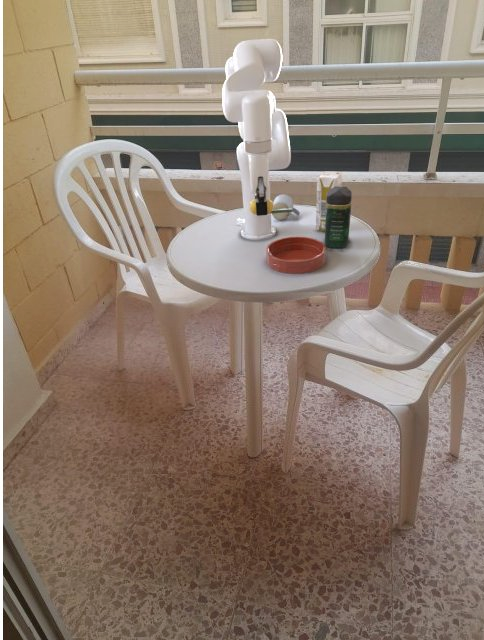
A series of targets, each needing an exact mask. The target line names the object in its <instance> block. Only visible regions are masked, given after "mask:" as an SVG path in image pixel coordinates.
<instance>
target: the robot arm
mask: <svg viewBox="0 0 484 640" xmlns="http://www.w3.org/2000/svg"><path fill="white" fill-rule="evenodd" d="M282 63H283V52H282V47H281V45H280V43H279V42H278V41H277V39H274V38H263V39H262V38H259V39H258V38H257V39H248V40H243V41H240V42H239V43H238V44H237V45H236V47H234V51H233V55H232V56H230V57H229V58H228V59H227V60H226V63H225V76H226V80H225V81H224V83H223V86H222V92H221V93H222V94H221V95H222V96H221V97H222V109H223V110H222V111H223V114H224V117H225V119H226V120H227V121H228V122H230V123H238V131H239V135H240V138H241V139H242V141H243V142H241V143H239V145H238V146H237V147H236V159H237V164H238V169H239V174H240V182H241V193H242V207H243V218H237V219H236V223H235V226H236V227H241V230H240V235H241V237H242V238H244V239H247V240H255V241H256V240H257V241H259V240H265V239H269V238H272V237H274V236H275V235H276V233H277V229H276V227H275V226H274V225H272V213H271V214H268V213H267V201H266V199H269V200H271V185H270V181H269V180H270V179H269V176H270V175H269V173H270V171H277V170H284V169H287V168H289V166H290V164H291V162H292V161H291V160H292V154H291V153H292V152H291V145H290V137H289V136H290V135H289V127H288V121H287V117H286V114H285V112H284V111H283V110H281V109H279V108H276V104H277V103H276V97H275V96H274V94H273V93H272V91H270V90H269V89H261V88H262V87H263V85H264V84H265V83H272V82H275V81H276V80H278V78H279V75H280V72H281V70H282V69H281V68H282V65H283V64H282ZM255 199H257V202H256V215H255V214H253V213H252V212H251V211H250V208H249V207H250V203H251V202H252V201H253V200H255Z"/></svg>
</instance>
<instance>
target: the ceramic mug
mask: <svg viewBox="0 0 484 640" xmlns="http://www.w3.org/2000/svg"><path fill="white" fill-rule="evenodd" d="M272 203H273V210H280V209H285V208H286V209H293V212H286V213H276V214H274V213H271V216H272V217H273V218H274V219H275V220H277V221H284V220H286V219H287V218H290V219H293V220H297V219H299V218H300V216H301V213H300V211H299V210H298V208H297V209H296V207H294V201H293V199H292V198H291V197H290V196H289V195H287V194H279V195H277V196H276V197H275V198H274V200H273V202H272ZM293 213H294V214H293Z"/></svg>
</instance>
